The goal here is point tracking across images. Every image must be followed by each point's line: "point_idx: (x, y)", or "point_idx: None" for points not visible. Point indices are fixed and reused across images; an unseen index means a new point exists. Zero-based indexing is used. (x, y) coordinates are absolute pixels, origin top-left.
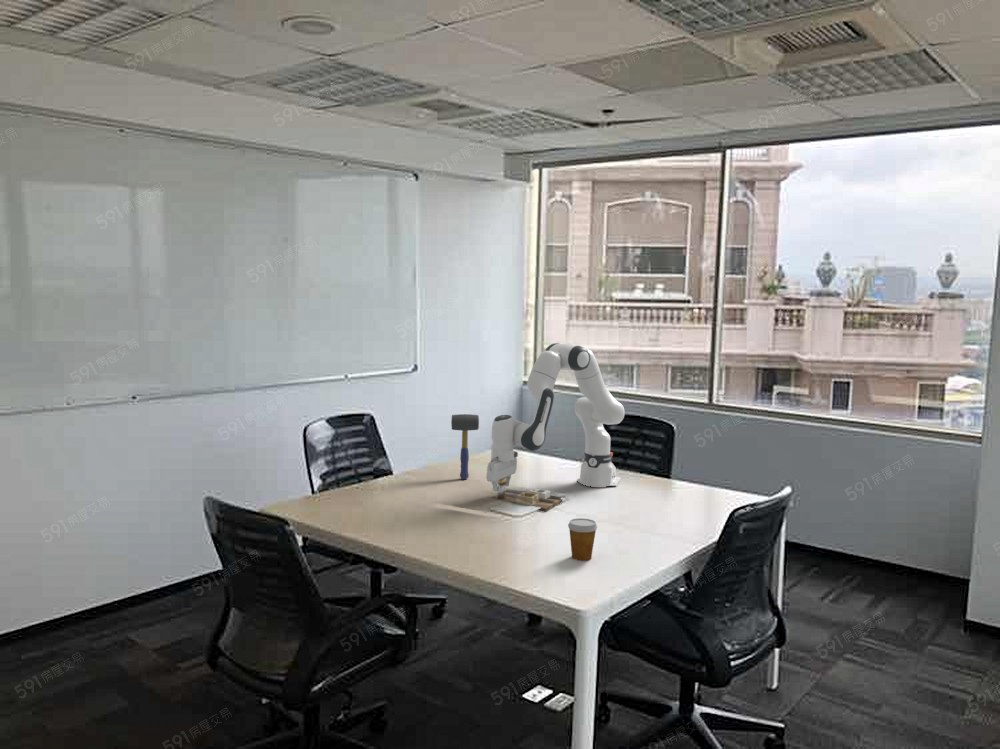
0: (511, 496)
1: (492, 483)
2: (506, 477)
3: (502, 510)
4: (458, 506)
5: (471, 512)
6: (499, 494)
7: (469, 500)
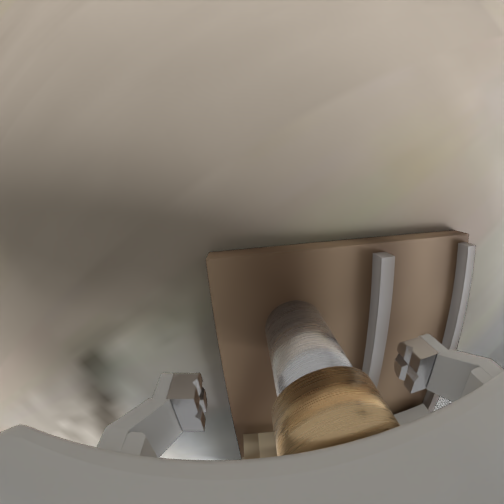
0: (364, 352)
1: (115, 428)
2: (472, 374)
3: (135, 398)
4: (33, 157)
5: (12, 288)
6: (268, 347)
7: (174, 104)
